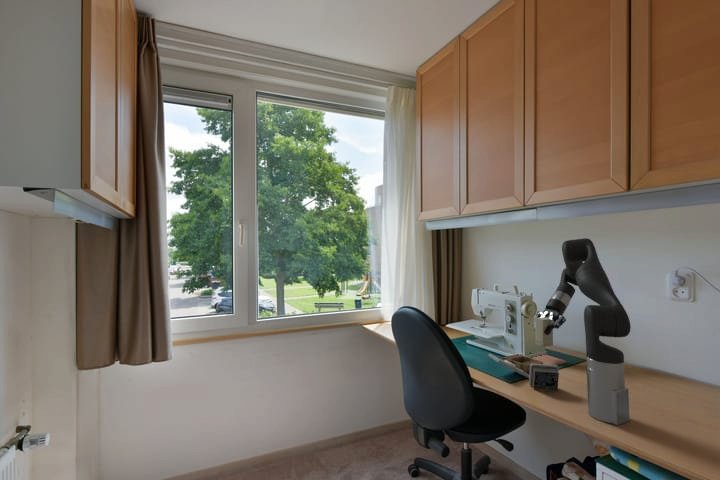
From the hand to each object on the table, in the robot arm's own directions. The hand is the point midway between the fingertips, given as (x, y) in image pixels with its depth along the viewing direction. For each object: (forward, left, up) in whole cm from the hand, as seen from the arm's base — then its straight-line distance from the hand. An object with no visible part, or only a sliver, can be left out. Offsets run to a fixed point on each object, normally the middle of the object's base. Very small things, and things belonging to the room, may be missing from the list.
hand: (541, 332), depth 151 cm
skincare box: (0, -2, -6) cm, 7 cm away
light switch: (-6, +26, -13) cm, 30 cm away
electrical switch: (-21, +25, -13) cm, 35 cm away
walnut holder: (-1, +13, -13) cm, 19 cm away
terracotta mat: (0, -2, -13) cm, 13 cm away
